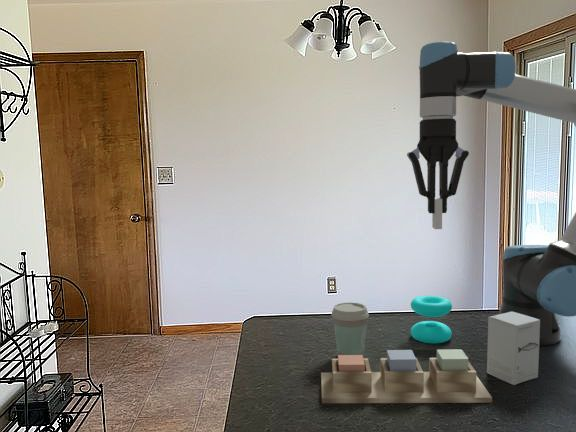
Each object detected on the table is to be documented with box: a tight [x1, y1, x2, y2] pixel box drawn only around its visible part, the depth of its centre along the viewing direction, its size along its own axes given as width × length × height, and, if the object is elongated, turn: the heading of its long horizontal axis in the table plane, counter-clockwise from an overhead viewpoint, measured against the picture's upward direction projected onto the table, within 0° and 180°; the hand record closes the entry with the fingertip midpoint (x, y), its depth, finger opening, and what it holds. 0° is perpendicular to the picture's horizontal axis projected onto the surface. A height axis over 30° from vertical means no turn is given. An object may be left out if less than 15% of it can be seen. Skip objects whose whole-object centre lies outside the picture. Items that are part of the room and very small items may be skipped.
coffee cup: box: [331, 301, 370, 356], centre depth 126 cm, size 8×8×12 cm
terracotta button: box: [337, 354, 365, 372], centre depth 110 cm, size 5×5×4 cm
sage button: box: [436, 348, 470, 371], centre depth 109 cm, size 5×5×4 cm
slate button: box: [386, 349, 417, 371], centre depth 109 cm, size 5×5×4 cm
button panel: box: [320, 357, 493, 404], centre depth 110 cm, size 32×12×5 cm, turn 87°
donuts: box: [410, 295, 453, 344], centre depth 137 cm, size 10×10×10 cm
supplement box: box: [486, 312, 540, 386], centre depth 114 cm, size 7×7×13 cm
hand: (437, 228), depth 119 cm, fingers closed
